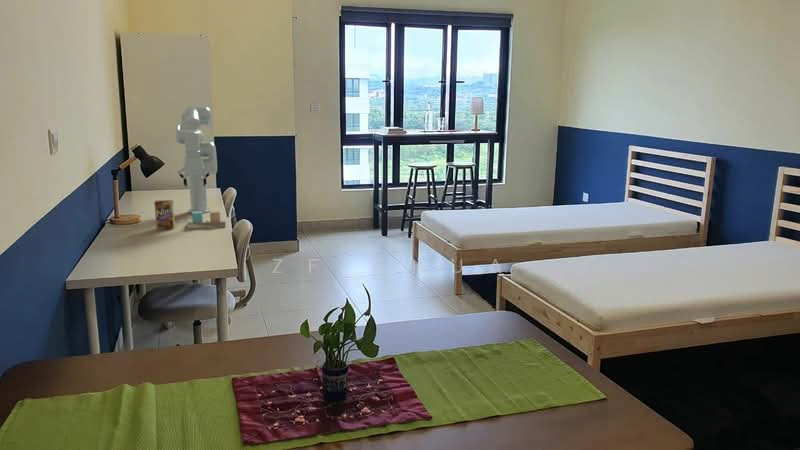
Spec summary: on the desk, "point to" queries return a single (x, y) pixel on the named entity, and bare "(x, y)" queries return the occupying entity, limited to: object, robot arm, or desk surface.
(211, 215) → the ochre block
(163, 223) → the candy box
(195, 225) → the lane shelf
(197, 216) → the teal block
